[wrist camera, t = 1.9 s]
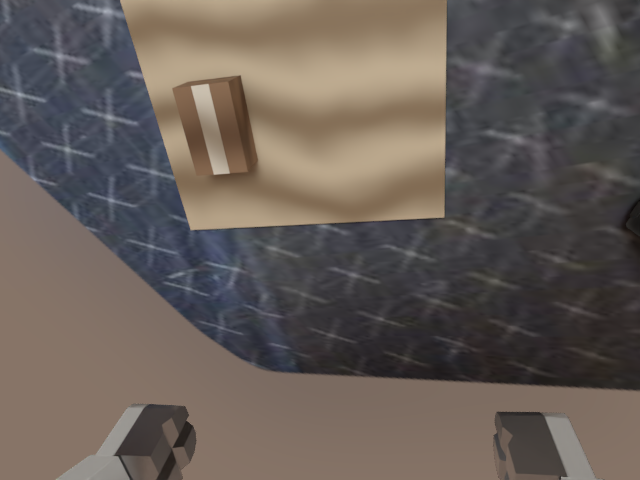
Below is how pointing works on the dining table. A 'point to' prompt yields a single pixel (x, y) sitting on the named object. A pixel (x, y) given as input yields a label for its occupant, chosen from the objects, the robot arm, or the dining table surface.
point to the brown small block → (216, 125)
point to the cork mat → (307, 105)
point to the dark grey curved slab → (634, 220)
